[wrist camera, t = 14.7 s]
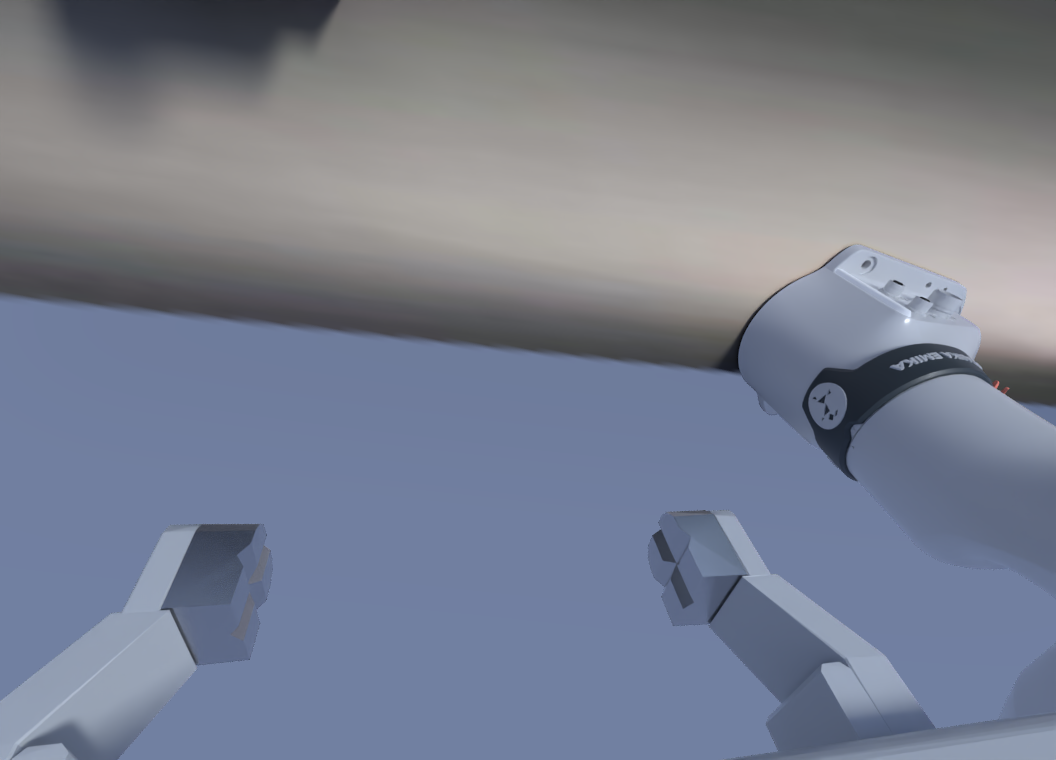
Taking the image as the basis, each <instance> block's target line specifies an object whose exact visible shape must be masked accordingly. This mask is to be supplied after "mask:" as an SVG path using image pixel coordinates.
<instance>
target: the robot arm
mask: <svg viewBox="0 0 1056 760" xmlns="http://www.w3.org/2000/svg"><path fill="white" fill-rule="evenodd" d="M966 292H967V290H966V288H965V287H964V286H963V285H961V284H960V283H958V282H957V281H954V280H952V279H949V278H947V277H944V276H941V275H939V274H936V273H934V272H931V271H928V270H926V269H923V268H920V267H918V266H915V265H913V264H910V263H907V262H905V261H902V260H899V259H897V258H894V257H891V256H889V255H886V254H884V253H881V252H878V251H876V250H873V249H870V248H868V247H865V246H862V245H853V246H850V247H848V248H847V249H845V250H844V251H842V252H841V253H840V254H838V255H837V256H836V257H835V258H834V259H832V260H831V261H830V262H829V263H828V264H827V265H826V266H824V267H823V268H821V269H820V270H818V271H816V272H814V273H812V274H810V275H807V276H805V277H803V278H801V279H799V280H797V281H795V282H793V283H792V284H790V285H789V286H787V287H785V288H784V289H783V290H781V291H780V292H779V293H777V294H776V295H775V296H774V297H772V298H771V299H770V300H769V301H768V302H767V303H766V304H765V305H764V306H763V307H762V308H761V309H760V311H759V312H758V313H757V314H756V316H755V317H754V318H753V320H752V321H751V323H750V324H749V326H748V328H747V329H746V331H745V333H744V336H743V338H742V341H741V344H740V348H739V354H738V364H739V369H740V373H741V375H742V377H743V379H744V380H745V381H746V382H747V384H749V385H750V386H751V387H752V388H753V389H754V390H755V391H756V392H757V394H758V400H759V404H760V406H761V408H762V409H763V410H764V411H765V412H766V413H767V414H769V415H776V414H778V415H779V416H780V417H781V418H782V419H783V420H784V421H785V422H786V423H788V425H789V426H791V427H792V428H793V429H794V430H795V431H796V432H797V433H798V434H799V435H800V436H801V437H802V438H803V439H804V440H805V441H807V442H808V443H809V444H810V445H811V446H812V447H814V448H817V449H820V448H821V449H822V450H823V451H824V452H825V454H826V455H827V457H828V459H829V460H830V461H831V462H832V463H833V464H834V465H835V466H836V467H837V468H839V469H840V470H841V471H842V472H843V473H844V474H845V475H846V476H847V477H849V478H850V479H852V480H855V481H858V482H859V483H860V484H861V485H862V486H863V487H864V488H865V489H866V491H867V492H868V493H869V494H870V495H871V496H872V497H873V498H874V499H875V500H876V502H877V503H878V504H879V505H880V506H881V507H882V508H883V509H884V511H885V512H886V513H887V514H888V515H889V516H890V517H891V518H892V519H893V521H894V522H895V523H896V524H897V525H898V526H899V527H900V528H901V529H902V531H903V532H904V533H905V534H906V535H907V536H908V537H909V538H910V539H911V541H912V542H913V543H914V544H915V545H916V546H917V547H918V548H919V549H920V550H922V551H923V552H924V553H926V554H927V555H929V556H931V557H932V558H934V559H937V560H939V561H941V562H943V563H947V564H950V565H954V566H960V567H964V568H972V569H1010V570H1012V571H1014V572H1016V573H1018V574H1020V575H1021V576H1023V577H1025V578H1026V579H1028V580H1029V581H1031V582H1033V583H1034V584H1036V585H1037V586H1038V587H1040V588H1041V589H1043V590H1044V591H1046V592H1047V593H1048V594H1050V595H1051V596H1052V597H1054V598H1055V599H1056V427H1055V426H1054V425H1052V424H1050V423H1049V422H1047V421H1046V420H1044V419H1042V418H1040V417H1039V416H1038V415H1036V414H1034V413H1033V412H1031V411H1030V410H1028V409H1026V408H1025V407H1023V406H1022V405H1020V404H1019V403H1017V402H1015V401H1014V400H1012V399H1011V398H1009V397H1008V396H1006V395H1005V393H1006V392H1007V390H1008V389H1009V388H1008V387H1006V388H1004V389H1003V390H1002V391H1001V392H1000V391H999V390H997V387H998V385H999V381H994V382H993V383H992V381H991V380H990V379H989V377H988V376H987V375H986V374H985V373H984V372H983V371H982V369H983V368H982V367H981V366H980V365H979V364H978V363H977V362H976V361H974V359H975V356H976V354H977V352H978V349H979V346H980V342H981V332H980V329H979V328H978V327H977V326H976V325H975V324H974V323H972V322H971V321H969V320H967V319H966V318H964V317H963V316H961V315H960V314H961V311H962V309H963V306H964V303H965V299H966ZM658 523H659V525H660V528H661V530H659V531H658V532H657V533H655V534H654V535H652V538H651V540H650V543H649V545H648V559H649V564H650V568H651V571H652V574H653V576H654V578H655V579H656V580H657V581H658V582H659V583H660V584H662V585H663V586H664V589H663V593H662V600H663V602H664V604H665V607H666V609H667V612H668V615H669V617H670V619H671V622H672V624H673V626H680V625H681V626H682V625H700V624H710V625H709V627H710V628H711V629H712V630H713V631H714V633H715V634H716V635H717V636H718V637H719V638H720V639H721V640H722V641H723V642H724V643H725V644H726V645H727V646H728V647H729V648H730V649H731V650H732V652H733V653H734V654H735V655H737V657H738V658H739V659H740V660H741V661H742V662H743V663H744V664H745V665H746V666H747V667H748V668H749V670H751V672H752V673H753V674H754V675H755V676H756V677H757V678H758V679H759V680H760V681H761V682H762V683H763V684H764V685H765V686H766V687H767V688H768V690H769V691H770V692H771V693H772V694H773V695H774V696H775V697H776V698H777V699H778V700H779V701H780V702H781V703H782V704H781V705H780V706H779V707H778V708H777V709H776V710H775V711H774V712H773V713H772V714H771V715H770V716H769V717H768V720H767V722H766V726H767V728H768V730H769V732H770V734H771V737H772V739H773V741H774V743H775V745H776V747H777V750H778V752H773V753H765V754H758V755H751V756H744V757H738V758H731V759H724V760H1056V643H1055V644H1054V645H1052V646H1051V647H1050V648H1049V649H1048V650H1047V651H1045V652H1044V653H1043V654H1041V656H1039V657H1038V658H1037V659H1035V660H1034V661H1033V662H1032V663H1031V664H1029V665H1028V666H1027V667H1026V668H1025V669H1024V670H1023V671H1022V672H1021V673H1020V675H1019V677H1018V678H1017V680H1016V682H1015V684H1014V686H1013V688H1012V690H1011V692H1010V694H1009V695H1008V697H1007V700H1006V702H1005V704H1004V707H1003V710H1002V712H1001V715H1000V717H999V719H998V720H992V721H985V722H978V723H971V724H965V725H958V726H951V727H944V728H937V729H936V728H935V726H934V725H933V724H932V722H931V721H930V719H929V718H928V716H927V715H926V714H925V712H924V711H923V709H922V708H921V706H920V705H919V704H918V702H917V701H916V699H915V698H914V696H913V695H912V694H911V692H910V691H909V689H908V688H907V686H906V685H905V684H904V682H903V681H902V679H901V678H900V676H899V675H898V673H897V672H896V671H895V669H894V668H893V666H892V665H891V663H890V662H889V661H888V659H887V658H886V656H885V655H884V654H882V653H881V652H879V651H878V650H877V649H876V648H874V647H873V646H872V645H870V644H869V643H868V642H866V641H865V640H864V639H862V638H861V637H859V636H858V635H857V634H856V633H854V632H853V631H852V630H850V629H849V628H848V627H846V626H845V625H844V624H842V623H841V622H840V621H838V620H837V619H836V618H834V617H833V616H831V615H830V614H829V613H828V612H826V611H825V610H824V609H822V608H821V607H820V606H818V605H817V604H816V603H814V602H813V601H812V600H810V599H809V598H808V597H806V596H805V595H804V594H802V593H801V592H800V591H798V590H797V589H796V588H794V587H793V586H792V585H790V584H789V583H788V582H786V581H785V580H784V579H783V578H781V577H780V576H779V575H777V574H770V572H769V571H768V569H767V567H766V566H765V564H764V563H763V561H762V559H761V558H760V556H759V554H758V553H757V551H756V549H755V548H754V546H753V544H752V543H751V541H750V539H749V538H748V536H747V534H746V533H745V531H744V530H743V528H742V526H741V524H740V523H739V521H738V520H737V518H736V516H735V515H734V514H733V513H732V512H731V511H729V510H720V511H705V510H703V511H680V512H666V513H665V514H663V515H662V516H661V518H660V520H659V522H658ZM266 536H267V534H266V531H265V527H264V524H199V525H197V524H196V525H170V526H169V527H168V528H167V529H166V530H165V531H164V532H163V533H162V535H161V536H160V538H159V540H158V542H157V544H156V546H155V548H154V550H153V552H152V554H151V556H150V558H149V560H148V562H147V564H146V566H145V568H144V570H143V572H142V573H141V575H140V577H139V579H138V581H137V583H136V585H135V587H134V589H133V591H132V593H131V595H130V597H129V599H128V601H127V603H126V604H125V606H124V609H123V610H122V612H120V613H119V612H118V613H111V614H110V615H108V616H107V617H106V618H105V619H103V620H102V621H101V622H99V623H98V624H97V625H96V626H95V627H93V628H92V629H91V630H89V631H88V632H87V633H86V634H84V635H83V636H82V637H81V638H79V639H78V640H77V641H76V642H74V643H73V644H72V645H70V646H69V647H68V648H67V649H66V650H64V651H63V652H62V653H60V654H59V655H58V656H57V657H56V658H54V659H53V660H52V661H51V662H49V663H48V664H47V665H45V666H44V667H43V668H41V669H40V670H39V671H38V672H37V673H35V674H34V675H33V676H32V677H30V678H29V679H28V680H26V681H25V682H24V683H23V684H21V685H20V686H19V687H17V688H16V689H15V690H14V691H12V692H11V693H10V694H9V695H8V696H6V697H5V698H4V699H2V700H1V701H0V760H117V759H118V758H119V757H120V756H121V755H122V753H123V752H124V751H125V750H126V749H127V748H128V747H129V745H130V744H131V743H132V742H133V741H134V740H135V739H136V738H137V736H138V735H139V734H140V733H141V732H142V731H143V730H144V728H145V727H146V726H147V725H148V724H149V723H150V722H151V721H152V719H153V718H154V717H155V716H156V715H157V714H158V713H159V711H160V710H161V709H162V708H163V707H164V706H165V705H166V703H167V702H168V701H169V700H170V699H171V698H172V696H173V695H174V694H175V693H176V692H177V691H178V690H179V689H180V687H181V686H182V685H183V684H184V683H185V682H186V681H187V679H188V678H189V677H190V676H191V675H192V674H193V672H194V671H195V670H196V669H197V667H196V665H205V664H214V663H224V662H233V661H242V660H250V657H251V653H252V650H253V647H254V643H255V640H256V636H257V632H258V629H259V625H260V621H259V617H258V614H257V609H258V608H259V607H260V606H261V605H262V604H263V603H264V602H265V601H266V600H267V596H268V592H269V589H270V584H271V576H272V555H271V551H270V549H268V548H267V547H265V546H264V543H265V540H266Z"/></svg>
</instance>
